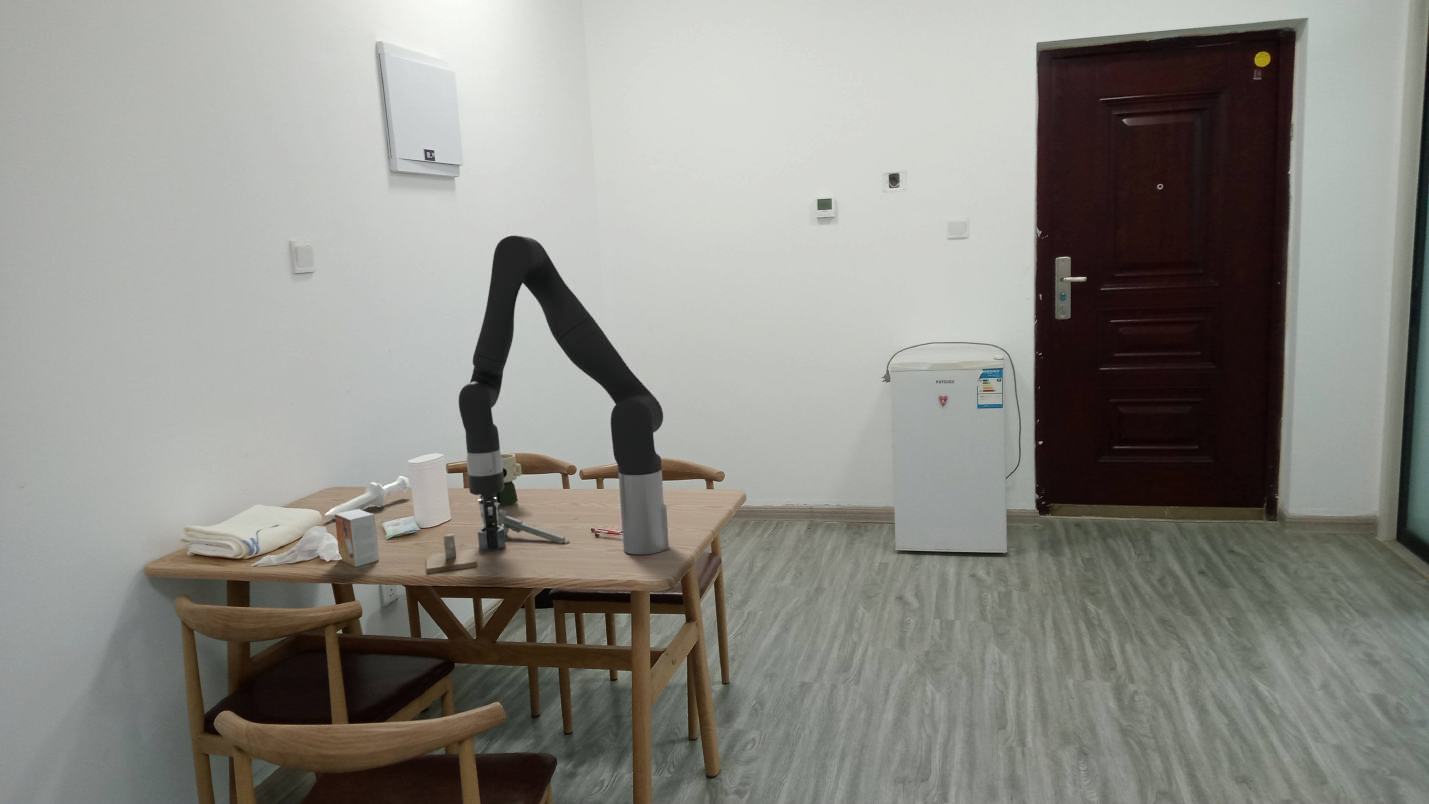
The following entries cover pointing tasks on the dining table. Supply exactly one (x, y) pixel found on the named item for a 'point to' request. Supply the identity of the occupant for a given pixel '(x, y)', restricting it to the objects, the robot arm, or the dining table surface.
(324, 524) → the dining table surface
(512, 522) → the caliper
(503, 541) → the collar ring
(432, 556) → the inverted t stand
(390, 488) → the dagger
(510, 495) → the character mug
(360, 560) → the small box
